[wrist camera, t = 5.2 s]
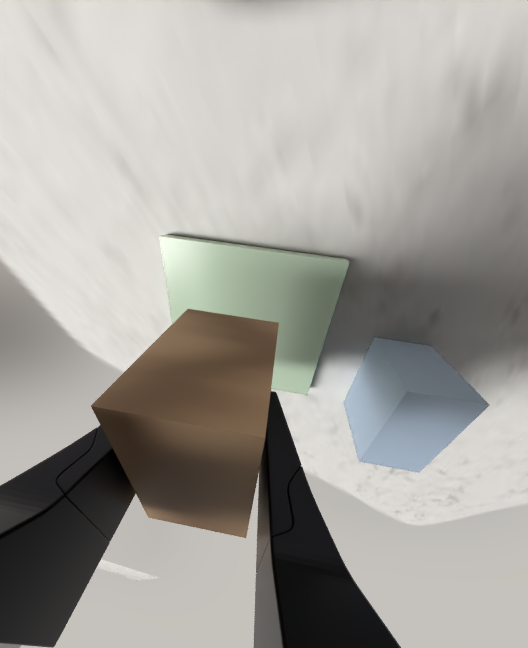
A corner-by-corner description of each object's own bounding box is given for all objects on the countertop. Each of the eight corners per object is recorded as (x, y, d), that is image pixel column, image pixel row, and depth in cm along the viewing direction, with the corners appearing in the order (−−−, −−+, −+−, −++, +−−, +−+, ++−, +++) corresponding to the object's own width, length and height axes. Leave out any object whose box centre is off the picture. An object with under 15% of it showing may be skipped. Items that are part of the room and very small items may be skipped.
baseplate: (346, 258, 12) (349, 262, 11) (306, 387, 18) (307, 395, 17) (166, 234, 13) (159, 236, 12) (183, 367, 18) (179, 373, 18)
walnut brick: (279, 322, 9) (264, 438, 4) (262, 421, 12) (245, 538, 8) (187, 308, 9) (90, 406, 5) (197, 410, 13) (148, 517, 8)
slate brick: (431, 345, 14) (489, 405, 10) (388, 408, 18) (419, 472, 14) (373, 336, 15) (407, 391, 10) (343, 400, 18) (358, 461, 14)
